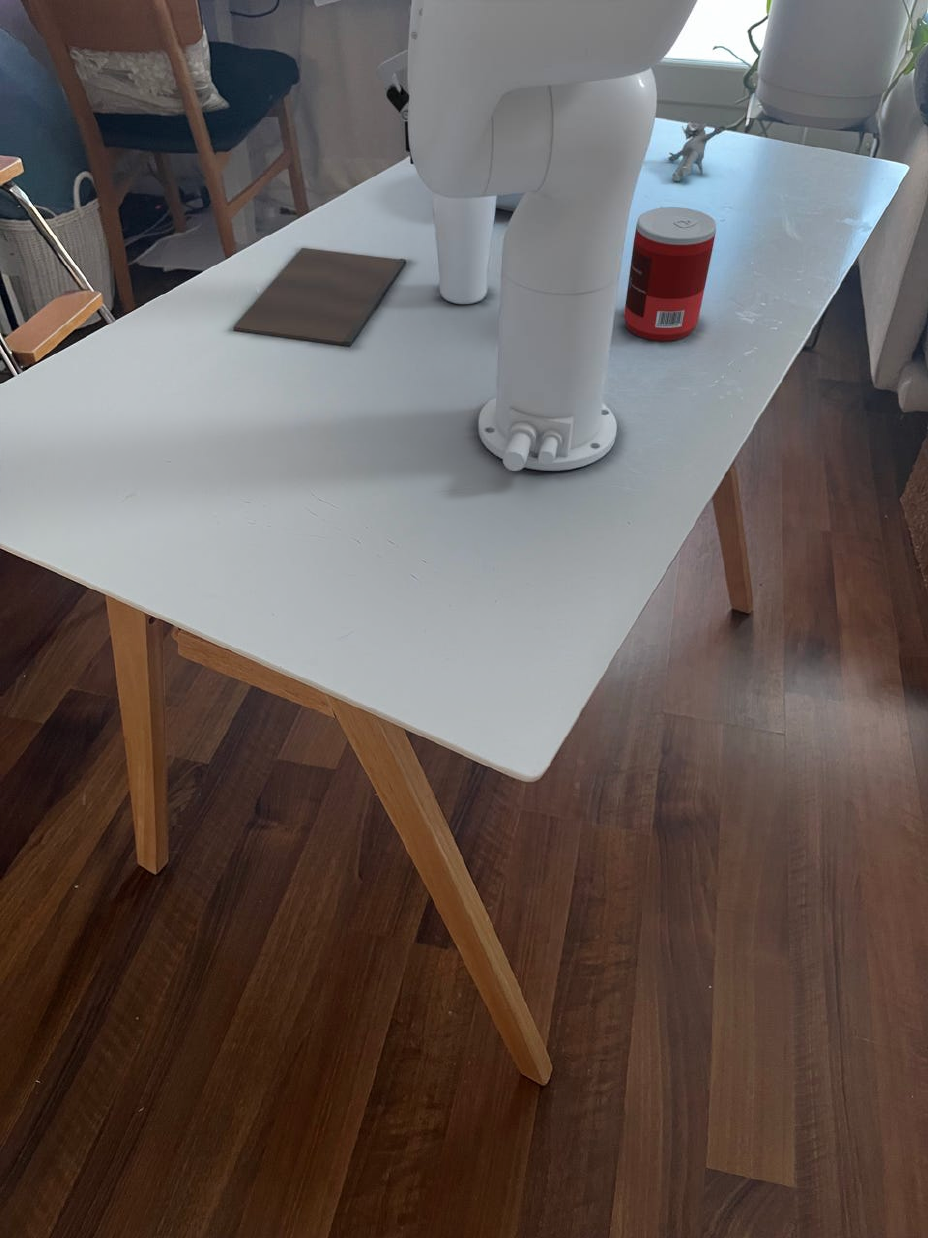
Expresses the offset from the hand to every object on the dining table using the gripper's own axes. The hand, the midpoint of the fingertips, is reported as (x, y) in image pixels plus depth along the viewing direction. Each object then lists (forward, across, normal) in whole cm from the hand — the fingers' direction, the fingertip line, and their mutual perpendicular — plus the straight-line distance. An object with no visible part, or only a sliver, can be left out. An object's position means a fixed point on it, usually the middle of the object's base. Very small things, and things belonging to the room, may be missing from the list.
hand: (463, 164), depth 95 cm
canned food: (+14, +22, -2) cm, 26 cm away
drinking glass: (+14, 0, -1) cm, 14 cm away
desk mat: (+14, -15, -5) cm, 21 cm away
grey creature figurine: (+14, +22, +43) cm, 51 cm away
